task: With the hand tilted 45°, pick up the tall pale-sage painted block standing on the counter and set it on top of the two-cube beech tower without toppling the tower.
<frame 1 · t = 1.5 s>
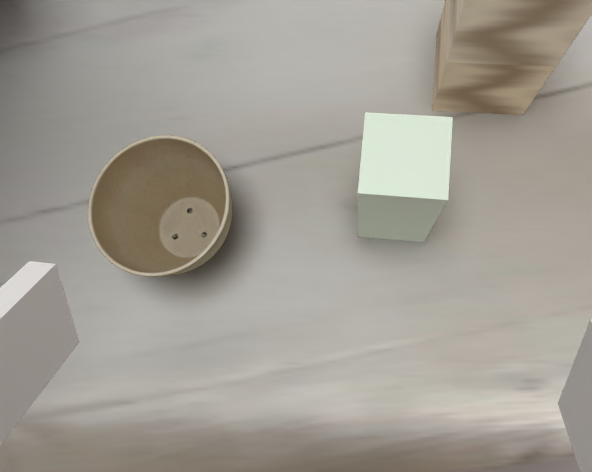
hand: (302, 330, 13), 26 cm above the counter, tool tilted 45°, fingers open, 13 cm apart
tower base: (478, 73, 42), on the counter, touching tower top
sage block: (392, 208, 40), on the counter
tower top: (502, 18, 35), point 7 cm above the counter, touching tower base
flower pot: (191, 228, 42), on the counter
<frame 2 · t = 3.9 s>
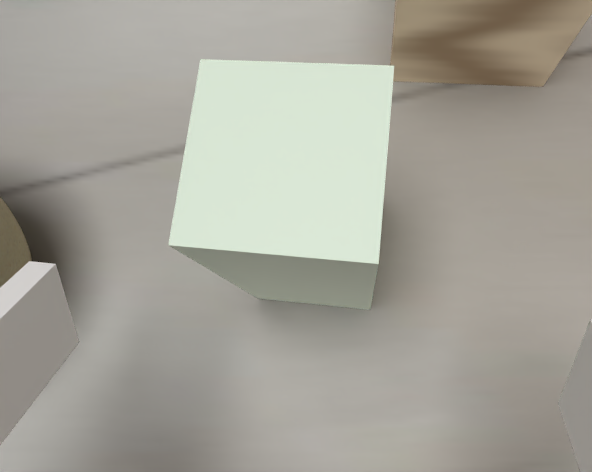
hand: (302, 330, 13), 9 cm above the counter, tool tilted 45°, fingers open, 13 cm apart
tower base: (467, 18, 25), on the counter, touching tower top
sage block: (319, 248, 23), on the counter
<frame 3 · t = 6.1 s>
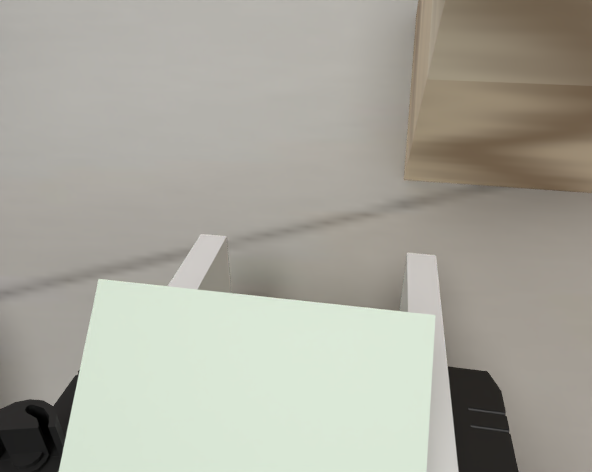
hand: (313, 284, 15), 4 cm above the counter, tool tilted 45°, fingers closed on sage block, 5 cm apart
tower base: (504, 98, 19), on the counter, touching tower top
sage block: (311, 409, 17), on the counter, touching gripper
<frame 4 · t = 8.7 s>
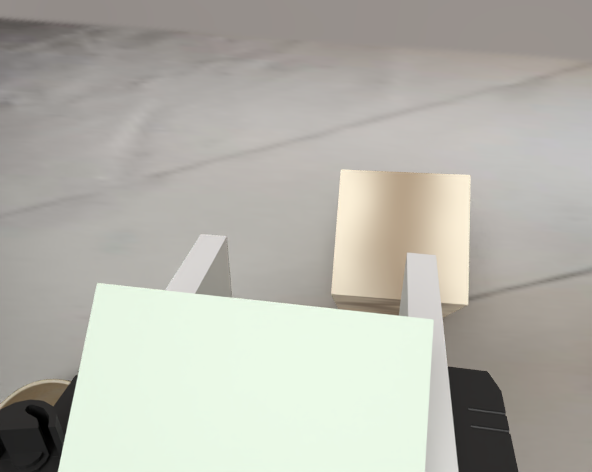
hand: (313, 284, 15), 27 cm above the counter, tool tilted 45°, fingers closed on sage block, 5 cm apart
sage block: (310, 410, 17), point 23 cm above the counter, touching gripper
tower top: (393, 258, 34), point 7 cm above the counter, touching tower base
flower pot: (99, 440, 41), on the counter
when the fingers open (19 cm above the counter, at t = 11.4 s): sage block drops 1 cm, resting on tower top.
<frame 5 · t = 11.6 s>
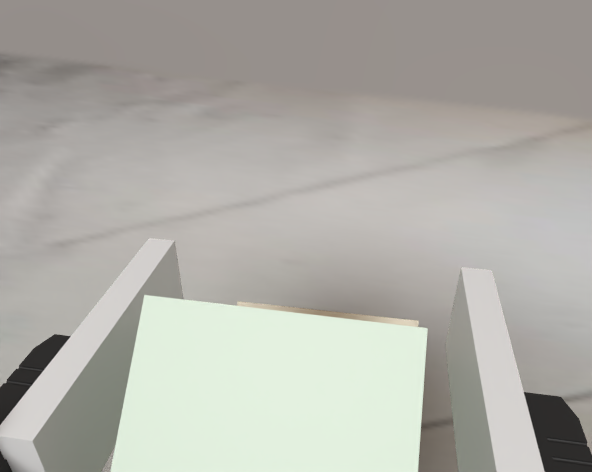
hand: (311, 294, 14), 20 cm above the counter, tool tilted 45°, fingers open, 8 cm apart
sage block: (317, 407, 19), point 14 cm above the counter, touching tower top
tower top: (327, 394, 26), point 7 cm above the counter, touching sage block, tower base
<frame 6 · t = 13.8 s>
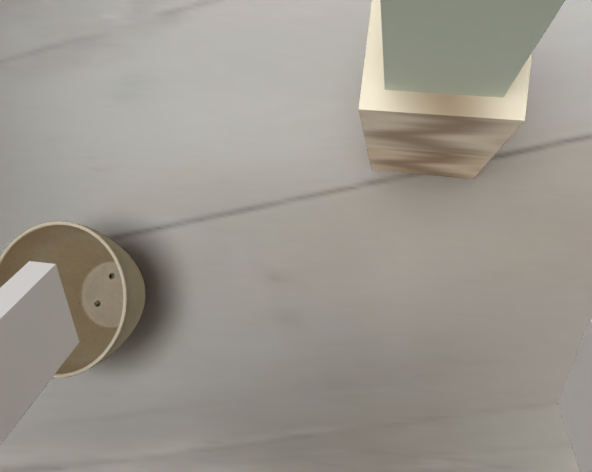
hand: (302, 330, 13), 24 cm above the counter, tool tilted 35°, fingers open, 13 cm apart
tower base: (427, 125, 36), on the counter, touching tower top
sage block: (449, 37, 22), point 14 cm above the counter, touching tower top
tower top: (435, 91, 29), point 7 cm above the counter, touching sage block, tower base
flower pot: (115, 293, 40), on the counter
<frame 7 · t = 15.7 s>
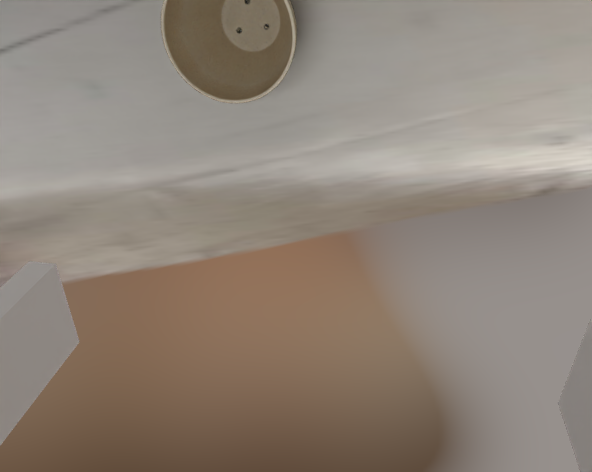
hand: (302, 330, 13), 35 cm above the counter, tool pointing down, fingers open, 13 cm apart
flower pot: (251, 18, 43), on the counter
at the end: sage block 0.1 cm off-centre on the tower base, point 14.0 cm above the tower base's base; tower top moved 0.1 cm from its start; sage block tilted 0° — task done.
